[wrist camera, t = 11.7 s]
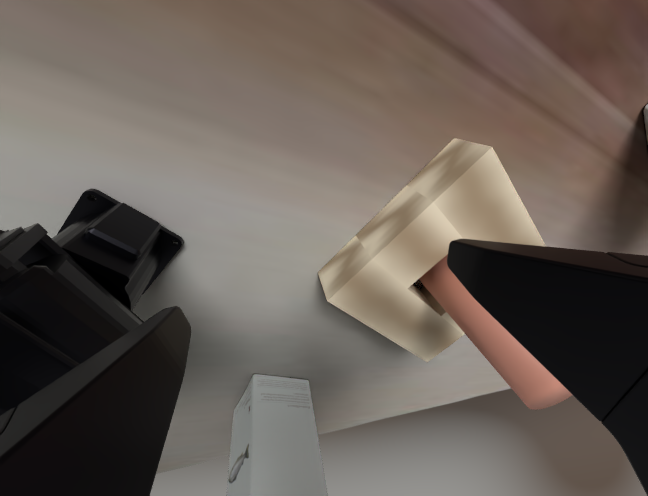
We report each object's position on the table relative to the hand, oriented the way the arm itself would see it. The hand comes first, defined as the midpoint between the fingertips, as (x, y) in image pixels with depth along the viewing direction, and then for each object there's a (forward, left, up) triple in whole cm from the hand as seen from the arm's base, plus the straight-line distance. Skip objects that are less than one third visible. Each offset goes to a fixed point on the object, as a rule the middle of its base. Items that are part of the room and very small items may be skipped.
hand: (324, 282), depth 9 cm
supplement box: (-22, -16, -13) cm, 30 cm away
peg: (+3, -16, -13) cm, 21 cm away
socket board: (+3, -16, -13) cm, 21 cm away
